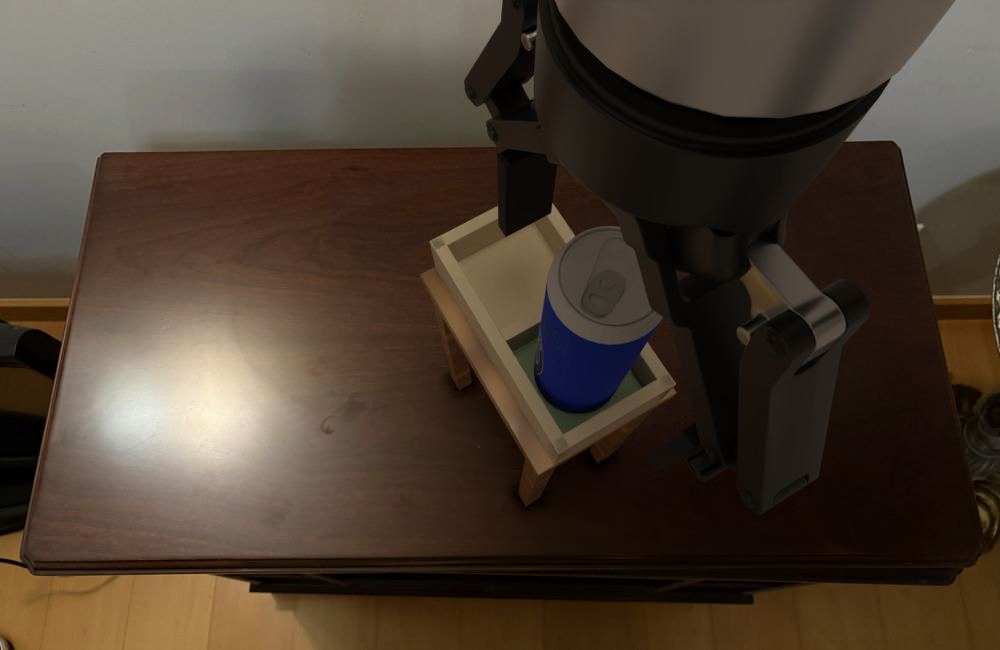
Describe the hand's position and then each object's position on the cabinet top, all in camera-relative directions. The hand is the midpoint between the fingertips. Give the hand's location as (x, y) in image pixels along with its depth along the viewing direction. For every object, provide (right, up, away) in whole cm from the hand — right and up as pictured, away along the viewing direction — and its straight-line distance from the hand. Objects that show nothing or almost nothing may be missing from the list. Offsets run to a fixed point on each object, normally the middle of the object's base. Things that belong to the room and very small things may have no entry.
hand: (596, 328), depth 34 cm
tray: (-2, 0, +11) cm, 11 cm away
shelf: (-2, -9, +35) cm, 36 cm away
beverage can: (0, -3, +9) cm, 9 cm away
